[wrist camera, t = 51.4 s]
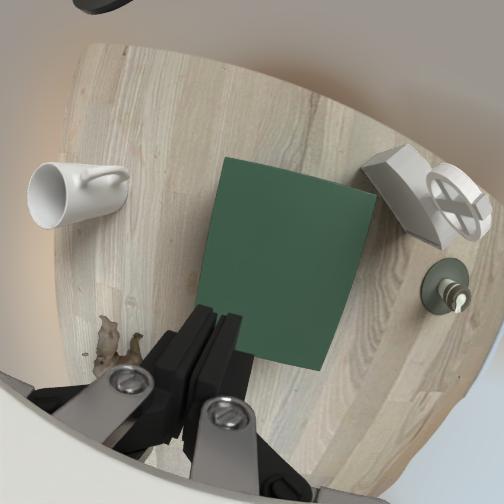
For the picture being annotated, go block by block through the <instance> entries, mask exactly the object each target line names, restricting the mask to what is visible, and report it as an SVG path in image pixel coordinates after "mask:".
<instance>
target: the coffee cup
mask: <svg viewBox="0 0 504 504" xmlns="http://www.w3.org/2000/svg"><path fill="white" fill-rule="evenodd" d="M468 285H469V275H468V271H467V268H466V266H465V265H464V264H463V263H462V262H461V261H460V260H458V259H455V258H446V259H443V260H441V261H439V262H437V263H436V264H435V265H434V266H433V267H432V268H431V269H430V270H429V272H428V273H427V275H426V277H425V279H424V282H423V286H422V300H423V303H424V305H425V307H426V308H427V309H428V310H429V311H430V312H431V313H434V314H446V313H449V312H451V311H454V312H455V313H460V312H462V311H464V310H465V309H466V308H467V307H468V306H469V304H470V301H471V292H470V290H469V289H468Z"/></svg>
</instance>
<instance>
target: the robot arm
mask: <svg viewBox="0 0 504 504" xmlns="http://www.w3.org/2000/svg"><path fill="white" fill-rule="evenodd" d="M217 315H218V313H215V312H213V308H211V307H208V306H204V305H201V304H198V305H197V306H196V308H195V309H194V311H193V312H192V313H191V315H190V316H189V318H188V319H187V320H186V322H185V323H184V325H183V326H182V327H181V329H180V330H179V332H178V333H177V332H173V331H170V330H167V331H166V332H165V333H164V335H163V336H162V337H161V338H160V340H159V341H158V342H157V344H156V345H155V346H154V347H153V349H152V350H151V351H150V352H149V354H148V355H147V356H146V358H145V359H144V360H143V361H142V363H141V364H140V365H139V366H137V365H131V364H121V365H117V366H114V367H112V368H110V369H109V370H108V371H106V372H105V373H104V374H103V375H101V376H100V377H99V378H97V379H96V380H95V381H94V382H92V383H91V384H88V385H78V386H68V387H55V388H43V389H38V390H35V389H34V386H32V385H29V384H27V383H25V382H22V381H20V380H18V379H16V378H14V377H11V376H9V375H7V374H5V373H3V372H1V371H0V504H390V503H388V502H387V501H385V500H383V499H380V498H375V497H369V496H363V495H358V494H353V493H348V492H343V491H339V490H335V489H331V488H327V487H323V486H321V487H320V488H319V489H318V488H314V487H310V485H309V484H308V482H307V481H306V480H305V479H304V478H303V477H302V476H301V475H300V474H298V473H297V472H296V471H295V470H294V469H293V468H292V467H291V466H290V465H289V464H288V463H287V462H286V461H285V460H283V459H282V458H281V457H280V456H279V455H278V454H277V453H276V452H275V451H274V450H273V449H272V448H271V447H270V446H269V445H268V444H267V443H266V442H265V441H264V440H263V439H262V438H261V437H260V436H259V435H258V434H257V433H256V417H255V413H254V411H253V409H252V408H251V406H249V405H248V404H247V403H246V402H245V401H244V400H245V396H246V391H247V387H248V382H249V378H250V373H251V369H252V364H253V360H254V354H250V353H246V352H242V351H238V350H235V348H236V343H237V339H238V335H239V331H240V327H241V323H242V319H243V316H241V315H237V314H233V313H229V312H228V314H227V316H226V315H221V317H220V319H219V321H218V323H217V325H216V321H217ZM215 326H216V327H215ZM183 426H184V427H183ZM182 428H183V435H182V441H184V445H183V452H184V453H185V454H186V456H187V457H188V459H189V460H190V462H191V469H190V476H189V479H186V478H183V477H180V476H177V475H174V474H171V473H168V472H165V471H163V470H160V469H157V468H155V467H152V466H149V465H147V464H144V462H145V460H146V459H147V458H148V456H149V455H150V454H151V452H152V450H153V446H156V445H160V444H163V443H164V444H167V445H169V443H170V441H171V439H172V437H173V438H176V439H178V437H179V435H180V433H181V430H182Z"/></svg>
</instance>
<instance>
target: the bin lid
mask: <svg viewBox="0 0 504 504" xmlns="http://www.w3.org/2000/svg"><path fill="white" fill-rule="evenodd" d="M376 199H377V195H375V194H371V193H368V192H365V191H362V190H358V189H355V188H352V187H348V186H345V185H341V184H338V183H334V182H331V181H327V180H323V179H320V178H316V177H312V176H308V175H304V174H300V173H296V172H292V171H288V170H284V169H280V168H276V167H271V166H267V165H262V164H258V163H253V162H249V161H244V160H239V159H234V158H229V157H225V159H224V163H223V167H222V172H221V176H220V181H219V185H218V190H217V194H216V199H215V204H214V208H213V213H212V218H211V223H210V228H209V232H208V237H207V243H206V248H205V253H204V258H203V263H202V269H201V274H200V280H199V285H198V291H197V296H196V302H195V308H196V306H197V305H198V304H201V305H204V306H208V307H211V308H213V312H215V313H218V315H217V321H216V325H217V323H218V321H219V319H220V317H221V315H226V316H227V314H228V312H229V313H233V314H237V315H241V316H243V319H242V323H241V327H240V331H239V335H238V339H237V343H236V348H235V350H238V351H242V352H246V353H250V354H254V356H255V357H259V358H263V359H267V360H271V361H275V362H279V363H284V364H288V365H293V366H297V367H302V368H307V369H311V370H316V371H320V369H321V367H322V365H323V362H324V360H325V357H326V355H327V352H328V350H329V347H330V345H331V342H332V340H333V337H334V334H335V332H336V329H337V326H338V324H339V321H340V318H341V315H342V313H343V310H344V307H345V304H346V301H347V298H348V295H349V292H350V290H351V286H352V283H353V280H354V277H355V274H356V271H357V268H358V265H359V261H360V258H361V255H362V251H363V248H364V244H365V241H366V237H367V234H368V230H369V226H370V223H371V219H372V215H373V211H374V207H375V203H376ZM195 308H194V309H195ZM215 327H216V326H215Z"/></svg>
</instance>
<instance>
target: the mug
mask: <svg viewBox="0 0 504 504" xmlns="http://www.w3.org/2000/svg"><path fill="white" fill-rule="evenodd" d="M129 177H130V176H129V172H128V170H127V169H126V168H124V167H123V166H116V165H114V166H102V165H89V164H75V163H50V162H47V163H43V164H41V165H40V166H39V167H38V168H37V169H36V170H35V171H34V173H33V175H32V177H31V179H30V182H29V186H28V192H27V202H28V208H29V212H30V214H31V217H32V219H33V220H34V222H35V223H36V224H37V225H38V226H39V227H41V228H42V229H46V230H50V229H53V228H58V227H62V226H66V225H69V224H73V223H76V222H80V221H84V220H88V219H91V218H95V217H99V216H104V215H107V214H111V213H114V212H116V211H118V210H119V209H120V208H121V207H122V206H123V204H124V202H125V200H126V197H127V193H128V186H127V181H126V180H127V179H129Z"/></svg>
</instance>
